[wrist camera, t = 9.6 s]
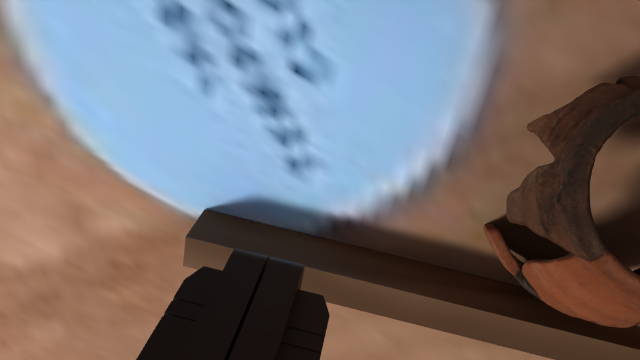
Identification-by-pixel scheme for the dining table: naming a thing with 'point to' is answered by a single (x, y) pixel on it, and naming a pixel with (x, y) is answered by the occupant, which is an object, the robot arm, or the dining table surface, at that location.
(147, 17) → the dining table surface
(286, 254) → the bay
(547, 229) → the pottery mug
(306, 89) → the dining table surface
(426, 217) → the dining table surface
